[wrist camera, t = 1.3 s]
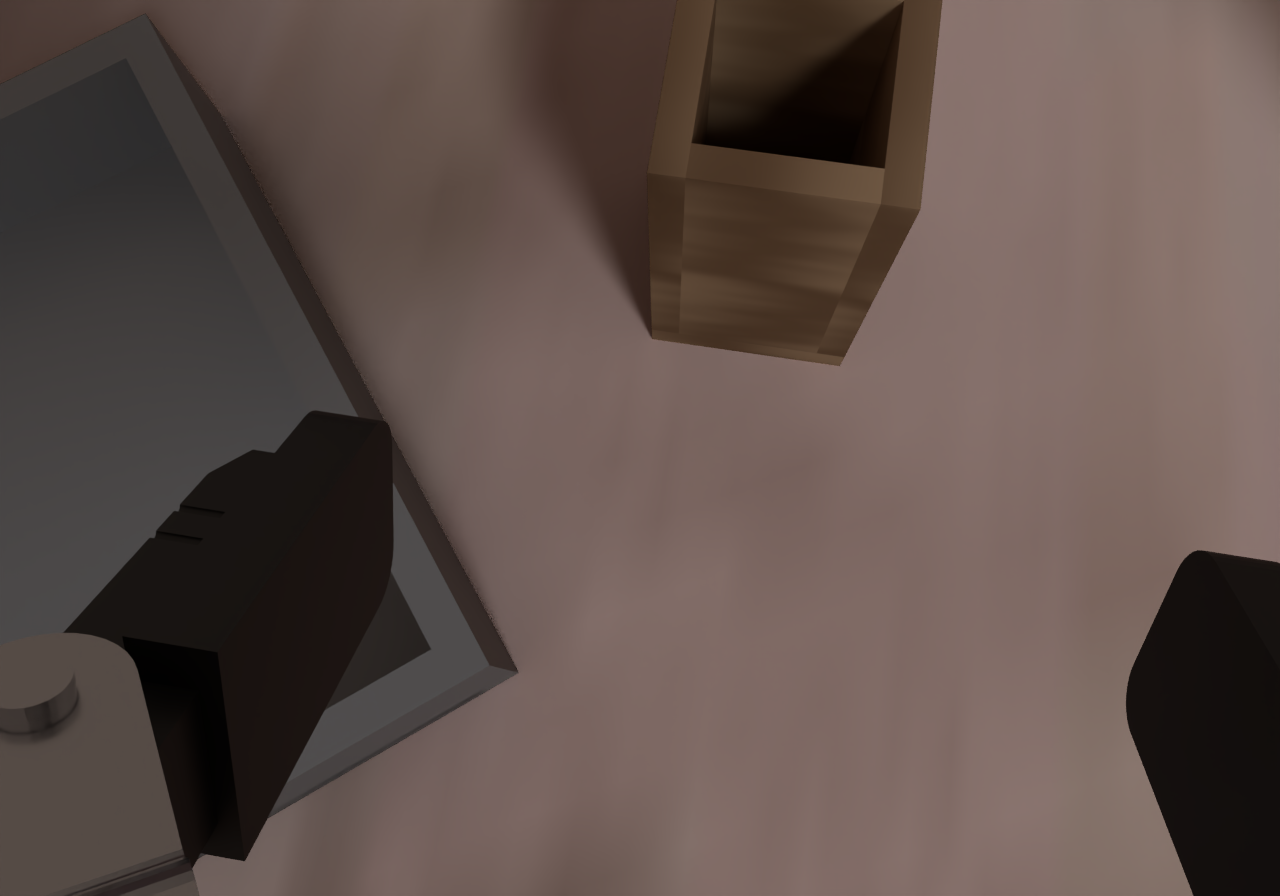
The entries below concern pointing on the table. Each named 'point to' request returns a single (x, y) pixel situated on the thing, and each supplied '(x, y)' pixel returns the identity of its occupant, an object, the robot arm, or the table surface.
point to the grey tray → (182, 376)
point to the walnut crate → (786, 168)
